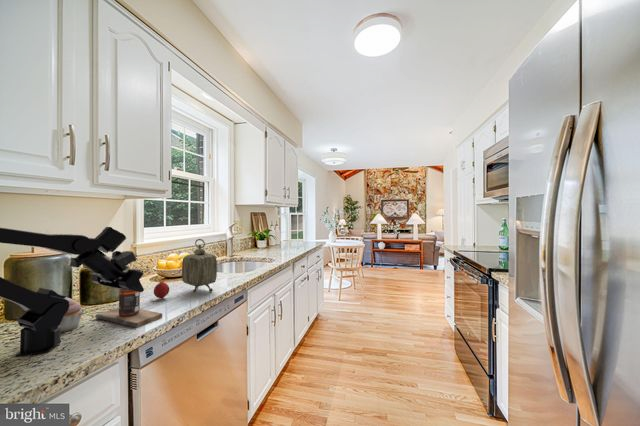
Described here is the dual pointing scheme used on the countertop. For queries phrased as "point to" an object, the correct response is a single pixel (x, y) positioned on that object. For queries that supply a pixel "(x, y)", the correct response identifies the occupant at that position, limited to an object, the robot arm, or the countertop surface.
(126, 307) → the supplement bottle
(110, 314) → the brown wooden board
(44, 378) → the countertop surface
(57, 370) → the countertop surface
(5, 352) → the countertop surface
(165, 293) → the onion
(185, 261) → the tabletop clock
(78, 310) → the cupcake
